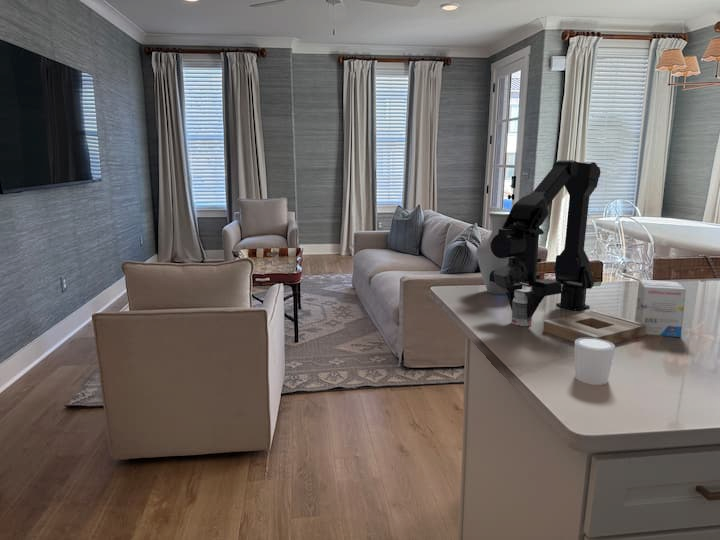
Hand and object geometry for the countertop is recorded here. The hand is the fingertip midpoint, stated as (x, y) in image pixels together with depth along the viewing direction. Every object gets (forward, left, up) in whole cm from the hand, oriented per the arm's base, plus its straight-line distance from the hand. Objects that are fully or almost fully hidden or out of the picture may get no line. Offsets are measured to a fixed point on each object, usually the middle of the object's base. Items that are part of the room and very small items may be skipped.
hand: (521, 315), depth 129 cm
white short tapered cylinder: (+14, +31, -2) cm, 34 cm away
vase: (-18, -27, -2) cm, 33 cm away
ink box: (-24, +20, -2) cm, 31 cm away
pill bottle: (0, 0, -2) cm, 2 cm away
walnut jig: (-9, +14, -2) cm, 17 cm away
